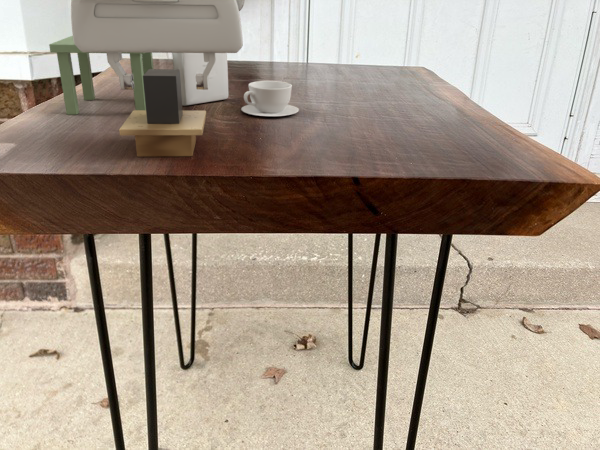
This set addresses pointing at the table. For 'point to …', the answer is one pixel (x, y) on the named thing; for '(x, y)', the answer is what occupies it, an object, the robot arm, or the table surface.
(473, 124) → the table surface
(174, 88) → the black block
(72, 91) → the high shelf
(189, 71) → the photo printer
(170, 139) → the low shelf
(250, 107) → the teacup
